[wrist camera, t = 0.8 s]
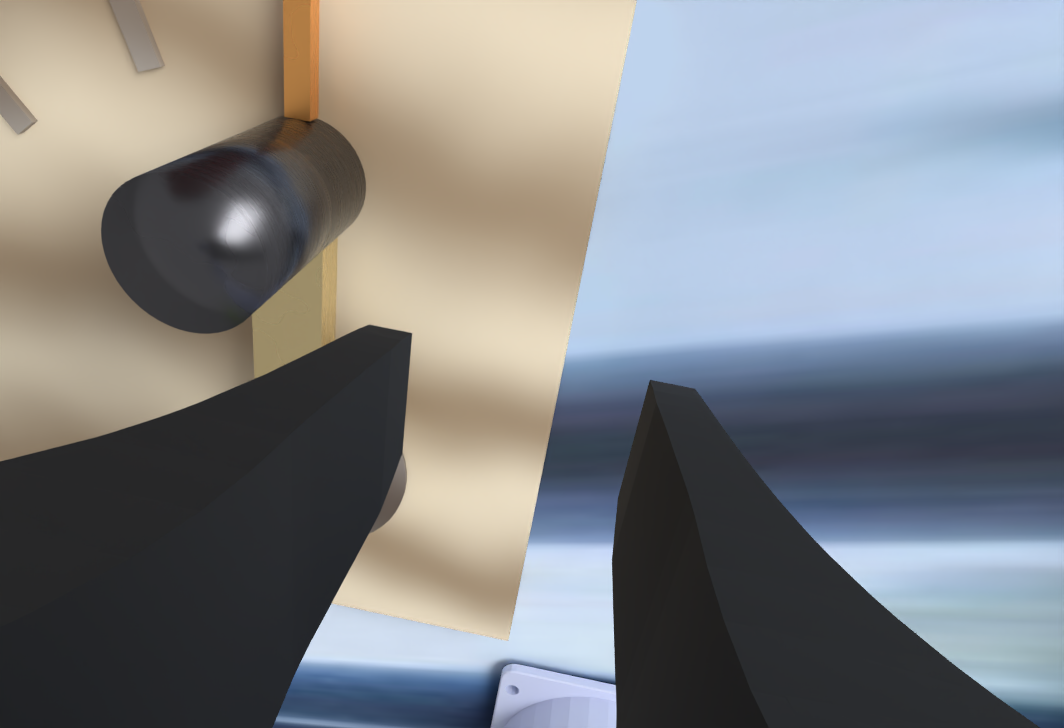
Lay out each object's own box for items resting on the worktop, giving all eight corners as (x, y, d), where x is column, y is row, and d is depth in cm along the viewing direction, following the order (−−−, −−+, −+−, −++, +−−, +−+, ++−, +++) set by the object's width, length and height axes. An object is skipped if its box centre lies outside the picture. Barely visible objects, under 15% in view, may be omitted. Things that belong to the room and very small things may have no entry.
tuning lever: (372, 540, 23) (303, 690, 18) (238, 512, 23) (134, 653, 19) (408, -44, 15) (303, -48, 10) (204, -80, 15) (7, -100, 11)
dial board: (512, 618, 26) (507, 645, 25) (-49, 499, 27) (-76, 521, 26) (636, -1, 16) (636, 2, 15) (-249, -159, 17) (-306, -167, 16)
